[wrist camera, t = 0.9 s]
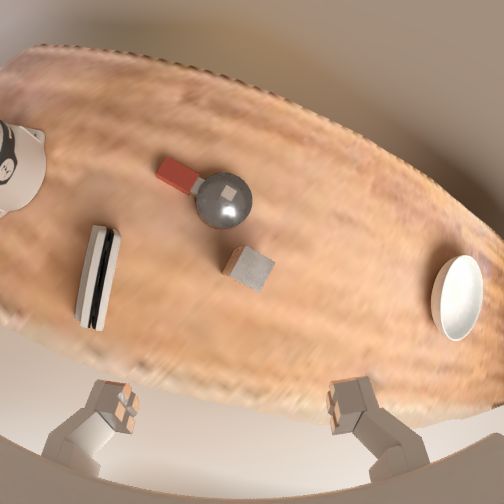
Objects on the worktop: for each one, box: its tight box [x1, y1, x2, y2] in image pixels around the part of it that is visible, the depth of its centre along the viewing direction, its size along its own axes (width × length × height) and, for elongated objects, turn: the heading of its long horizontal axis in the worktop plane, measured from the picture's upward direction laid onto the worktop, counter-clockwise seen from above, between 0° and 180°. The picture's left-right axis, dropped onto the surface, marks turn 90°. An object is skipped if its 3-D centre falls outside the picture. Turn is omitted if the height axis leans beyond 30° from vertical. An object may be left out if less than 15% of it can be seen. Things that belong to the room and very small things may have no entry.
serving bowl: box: [431, 255, 483, 341], centre depth 57 cm, size 21×21×7 cm
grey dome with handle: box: [156, 157, 252, 230], centre depth 44 cm, size 16×9×8 cm, turn 61°
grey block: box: [222, 246, 275, 293], centre depth 44 cm, size 5×5×9 cm
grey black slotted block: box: [75, 225, 121, 331], centre depth 39 cm, size 17×5×10 cm, turn 166°
